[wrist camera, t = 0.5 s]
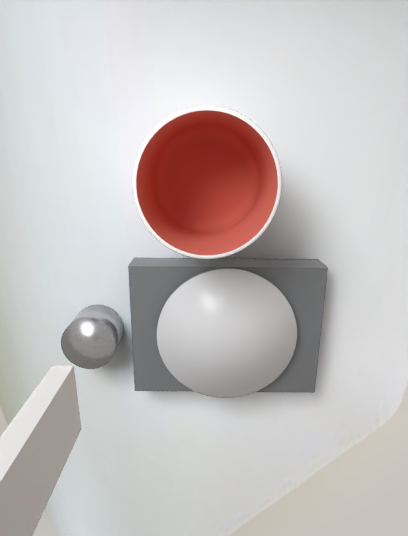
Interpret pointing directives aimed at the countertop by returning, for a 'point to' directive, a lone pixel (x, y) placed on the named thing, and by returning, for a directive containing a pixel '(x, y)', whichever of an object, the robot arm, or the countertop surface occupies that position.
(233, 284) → the scale
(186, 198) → the cup
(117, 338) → the cylinder
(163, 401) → the countertop surface
